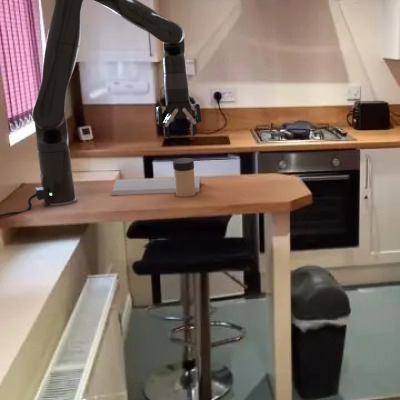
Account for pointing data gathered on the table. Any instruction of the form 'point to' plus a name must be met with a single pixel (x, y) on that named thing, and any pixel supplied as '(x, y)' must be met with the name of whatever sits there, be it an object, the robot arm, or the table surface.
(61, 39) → the robot arm
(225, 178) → the table surface
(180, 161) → the jar lid
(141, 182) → the crown molding
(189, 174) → the coffee jar
